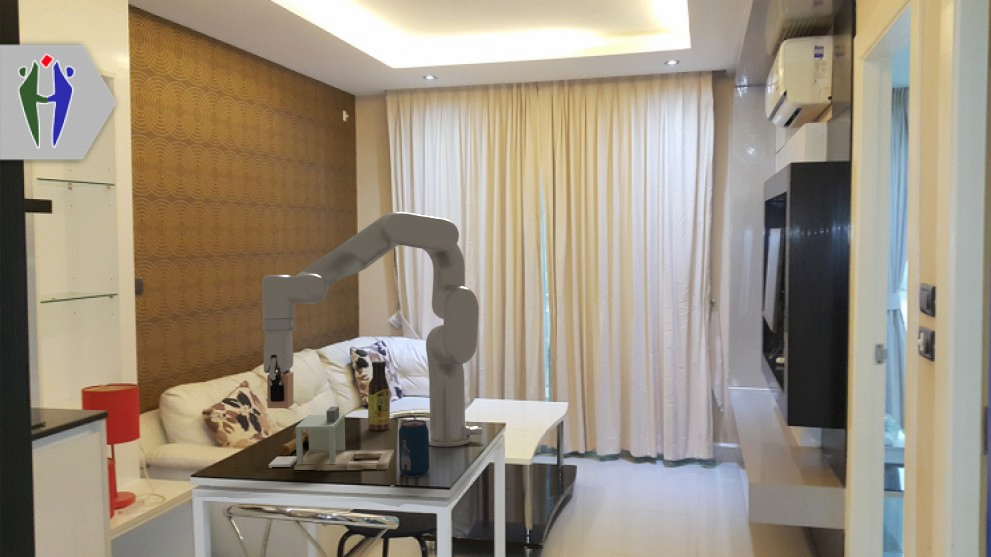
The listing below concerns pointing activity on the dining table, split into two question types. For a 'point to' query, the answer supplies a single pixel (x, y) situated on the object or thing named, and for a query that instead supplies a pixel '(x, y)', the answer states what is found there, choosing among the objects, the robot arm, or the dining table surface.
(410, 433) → the soda can
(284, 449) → the kendama
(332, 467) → the puzzle board
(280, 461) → the ceramic trivet
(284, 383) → the block
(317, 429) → the pale green table stand
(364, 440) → the dining table surface
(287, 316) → the robot arm
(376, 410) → the sauce bottle
